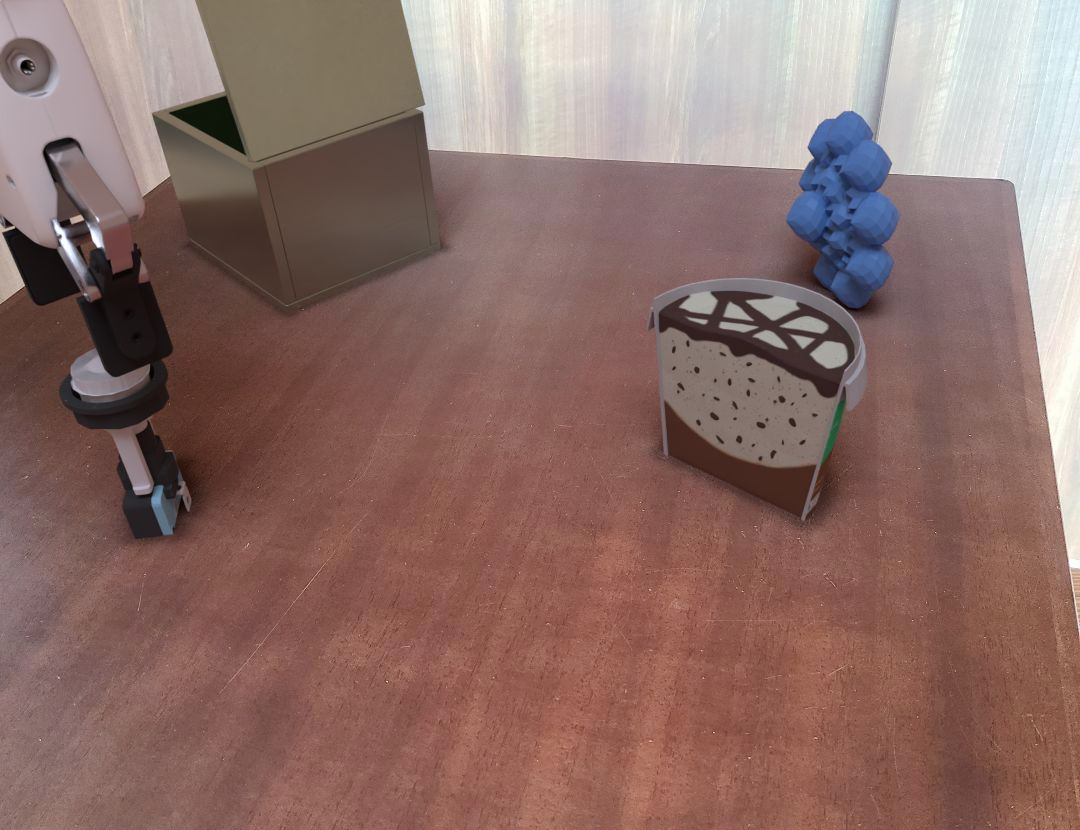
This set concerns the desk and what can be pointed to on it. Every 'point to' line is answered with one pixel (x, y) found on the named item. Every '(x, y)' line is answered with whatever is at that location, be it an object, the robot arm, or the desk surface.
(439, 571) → the desk surface
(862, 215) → the grapes
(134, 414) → the push button
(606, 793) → the desk surface
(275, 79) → the bin lid
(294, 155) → the bin
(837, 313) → the food container
